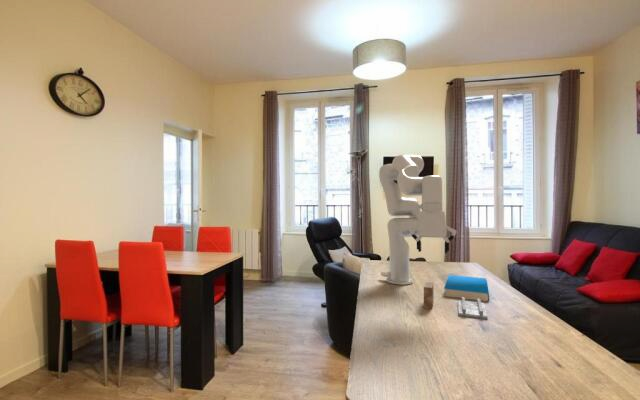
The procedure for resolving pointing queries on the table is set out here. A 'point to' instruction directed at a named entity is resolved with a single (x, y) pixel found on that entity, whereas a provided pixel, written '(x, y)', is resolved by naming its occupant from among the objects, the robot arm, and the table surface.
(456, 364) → the table surface
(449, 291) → the book
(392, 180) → the robot arm
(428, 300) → the door panel
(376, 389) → the table surface
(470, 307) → the floor track
